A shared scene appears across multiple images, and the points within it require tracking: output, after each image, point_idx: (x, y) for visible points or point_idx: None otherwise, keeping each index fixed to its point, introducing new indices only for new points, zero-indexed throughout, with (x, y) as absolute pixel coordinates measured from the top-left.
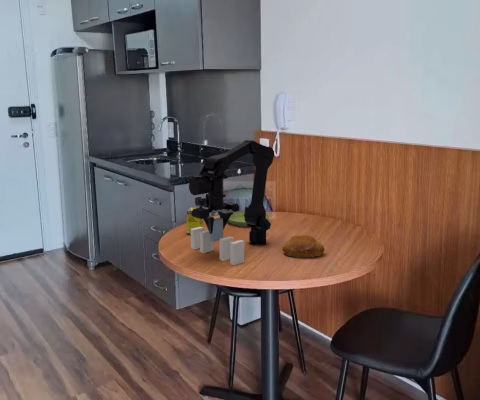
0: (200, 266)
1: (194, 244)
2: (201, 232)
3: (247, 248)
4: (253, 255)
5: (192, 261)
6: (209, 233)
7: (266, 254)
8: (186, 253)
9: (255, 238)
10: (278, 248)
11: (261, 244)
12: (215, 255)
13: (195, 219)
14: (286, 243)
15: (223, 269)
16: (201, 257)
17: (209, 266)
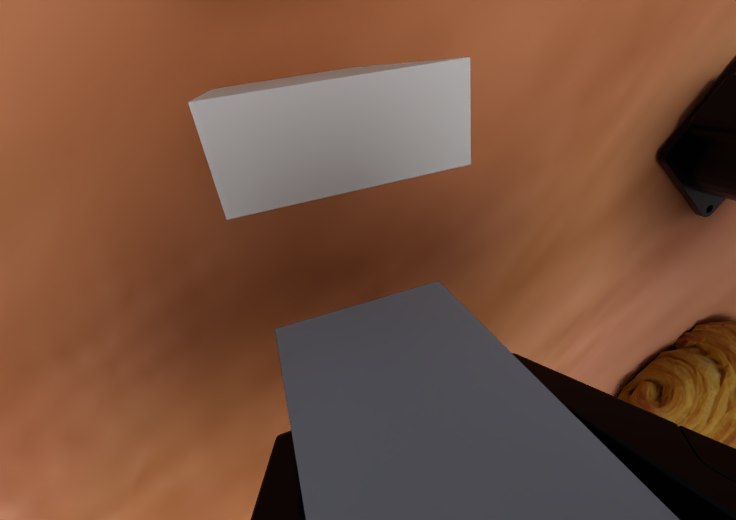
0: (84, 443)
1: None
2: (217, 157)
3: (584, 218)
4: (513, 352)
5: (33, 326)
6: (287, 404)
7: (570, 359)
8: (9, 38)
9: (727, 178)
10: (679, 297)
11: (688, 201)
12: (309, 261)
13: None
14: (686, 426)
15: (232, 507)
16: (165, 258)
17: (159, 454)
